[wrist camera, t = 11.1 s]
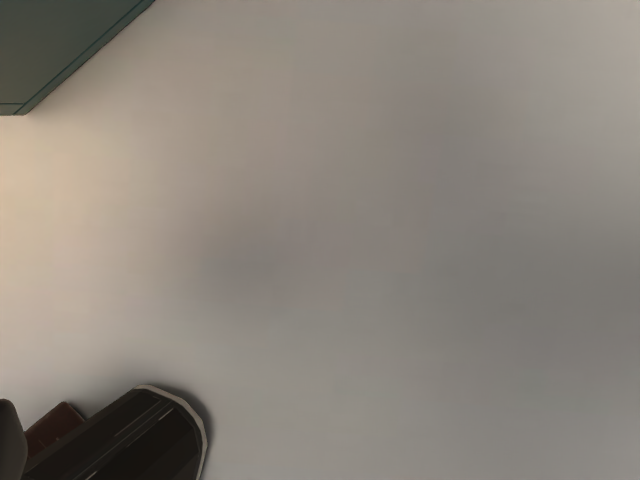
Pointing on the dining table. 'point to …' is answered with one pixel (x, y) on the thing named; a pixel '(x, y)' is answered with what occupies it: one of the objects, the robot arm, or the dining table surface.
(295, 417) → the dining table surface
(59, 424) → the box
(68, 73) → the teal bin
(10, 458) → the robot arm
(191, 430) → the camera
